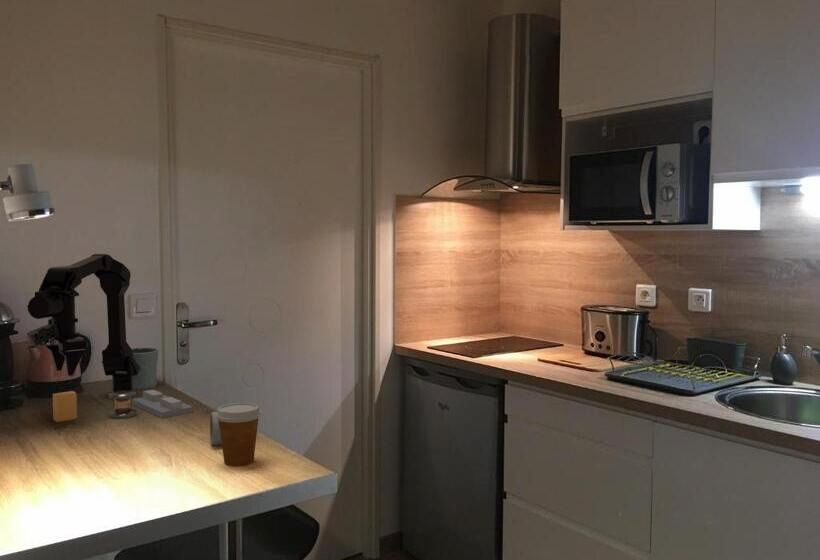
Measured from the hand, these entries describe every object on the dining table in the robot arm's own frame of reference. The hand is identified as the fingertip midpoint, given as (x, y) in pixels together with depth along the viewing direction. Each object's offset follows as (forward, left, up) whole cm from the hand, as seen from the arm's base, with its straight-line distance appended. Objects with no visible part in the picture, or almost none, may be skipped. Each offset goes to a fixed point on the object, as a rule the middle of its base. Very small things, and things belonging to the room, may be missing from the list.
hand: (64, 373), depth 186 cm
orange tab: (0, 0, -13) cm, 13 cm away
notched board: (+6, +24, -12) cm, 28 cm away
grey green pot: (-25, +31, -13) cm, 42 cm away
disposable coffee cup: (+62, +17, -13) cm, 65 cm away
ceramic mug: (+47, +22, -13) cm, 53 cm away
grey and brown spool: (+6, +13, -12) cm, 19 cm away
